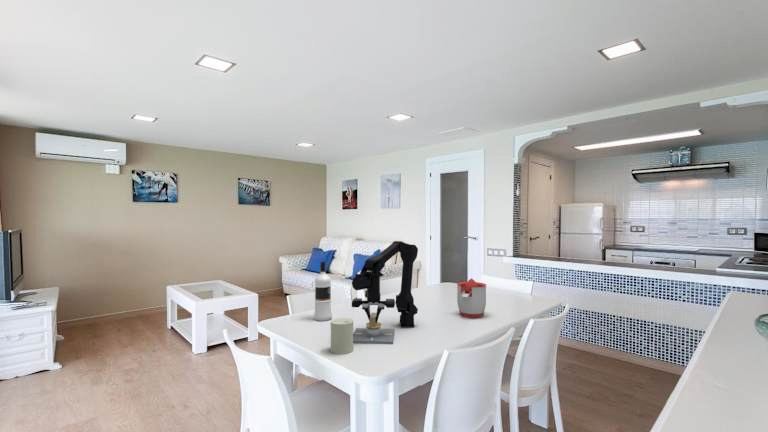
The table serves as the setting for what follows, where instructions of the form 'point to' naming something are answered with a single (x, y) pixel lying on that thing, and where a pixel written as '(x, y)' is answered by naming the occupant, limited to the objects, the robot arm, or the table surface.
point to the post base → (373, 336)
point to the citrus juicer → (471, 298)
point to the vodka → (322, 295)
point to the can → (341, 336)
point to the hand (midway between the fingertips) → (373, 322)
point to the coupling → (373, 322)
